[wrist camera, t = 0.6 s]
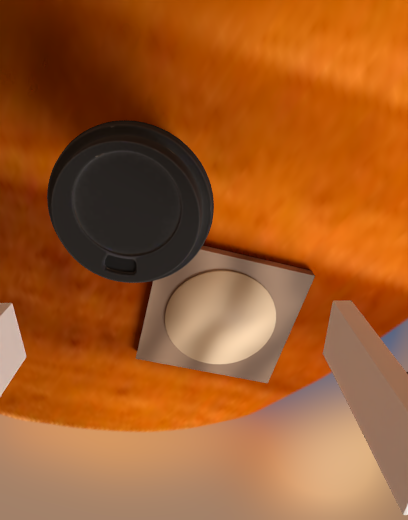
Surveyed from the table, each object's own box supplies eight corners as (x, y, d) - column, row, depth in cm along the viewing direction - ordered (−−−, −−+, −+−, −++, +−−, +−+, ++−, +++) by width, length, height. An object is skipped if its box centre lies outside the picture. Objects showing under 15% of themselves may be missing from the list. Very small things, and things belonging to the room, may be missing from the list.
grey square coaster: (137, 351, 41) (135, 360, 40) (163, 236, 35) (161, 241, 34) (265, 375, 43) (268, 385, 42) (311, 270, 37) (315, 277, 36)
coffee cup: (126, 226, 34) (79, 310, 21) (88, 128, 31) (1, 153, 17) (218, 202, 34) (233, 273, 20) (191, 98, 30) (187, 98, 16)
